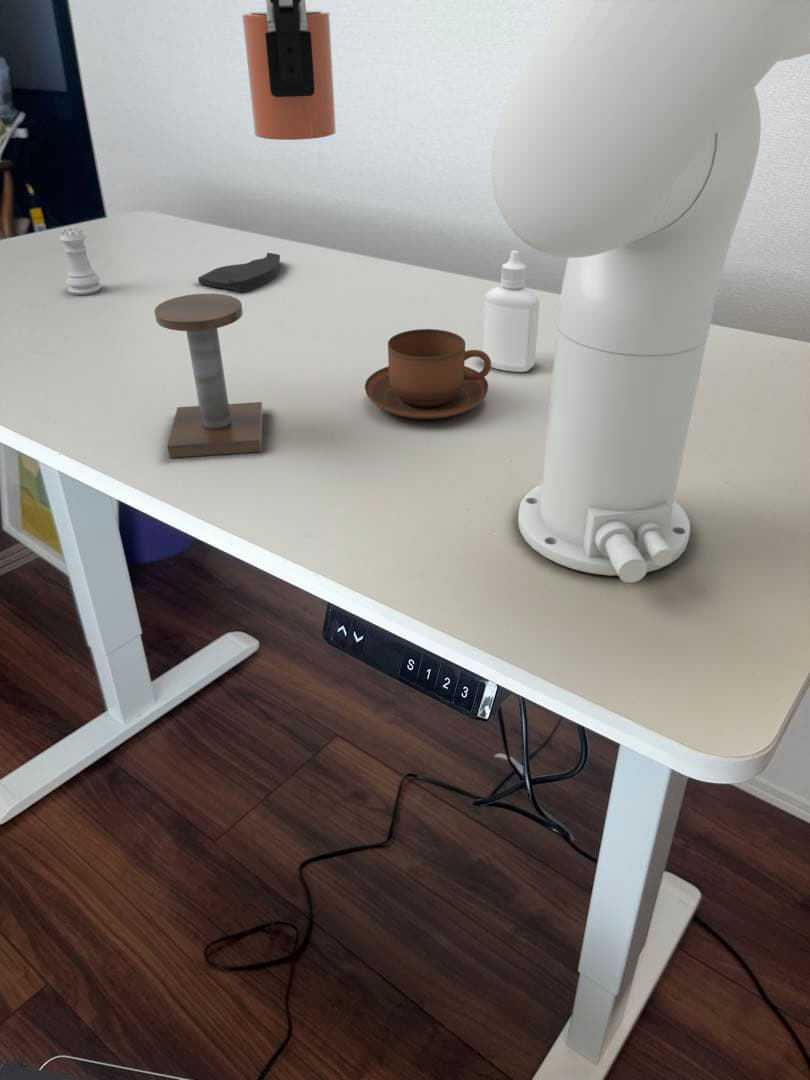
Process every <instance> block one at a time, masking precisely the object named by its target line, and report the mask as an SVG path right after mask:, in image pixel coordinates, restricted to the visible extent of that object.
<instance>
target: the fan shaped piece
mask: <svg viewBox="0 0 810 1080" xmlns="http://www.w3.org/2000/svg"><path fill="white" fill-rule="evenodd" d="M280 270H281V255H280V254H277V253H273V252H266V255H265V257H263V258H258V259H253V260H250V261H249V262H246V263H237V264H231V265H224V266H220V267H217V268H214V269H212V270H210V271H208V272H207V273H204V274H202V275H200V276H198V279H197V280H198V283H199V284H201V285H205V286H209V287H214V288H219V289H224V290H229V291H235V292H238V293H242V294H243V293H247V292H249V291H251V290H255V289H258V288H260V287H262V286H264V285H266V284H268V283H270V282H271V281H272V280H274V279H275V278H276V277H277V276H278V275H279V273H280Z"/></svg>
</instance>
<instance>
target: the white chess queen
mask: <svg viewBox="0 0 810 1080" xmlns="http://www.w3.org/2000/svg"><path fill="white" fill-rule="evenodd" d="M73 229H74V230H73ZM73 229H72V227H67V228H63V229H61V230H60V234H61V235H60V237H59V240H60V241H61V242H62V243H63V244H64V247H65V248H64V252H65V253H66V256H67V263H68V272H67V278H66V280H65V283H66V285H67V286H68V288H67V291H68V292H69V293H70V294H71V295H73V296H87V295H93V294H96V293H99V292H100V291H101V288H102V287H103V285H102V284H101V282H100V277H99V275H98V274H96V273H95V270H94V269H93V267H92V266H91V264H90V261H89V258H88V255H87V254H88V253H87V249H88V248H87V247H86V246H85V243H84V242H85V239H86V237H87V236H86V234H85V233H83V230H82V228H81V227H80V228H79V227H74V228H73ZM99 282H100V283H99Z"/></svg>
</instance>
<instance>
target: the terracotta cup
mask: <svg viewBox="0 0 810 1080" xmlns="http://www.w3.org/2000/svg"><path fill="white" fill-rule="evenodd" d="M330 14H331V13H330V12H327V11H321V10H306V17H307V32H311V43H312V58H313V73H314V88H315V91H314V94H313V95H312V96H294V97H275V96H273V95H272V94H271V89H270V78H269V68H268V57H267V46H266V35H265V33H269V31H268V21H267V10H266V11H253V12H250V13H243V14H242V25H243V34H244V42H245V52H246V61H247V70H248V80H249V91H250V100H251V109H252V118H253V128H254V135H255V136H256V137H257V138H260V139H266V140H275V141H278V140H279V141H280V140H281V141H290V140H291V141H298V140H313V139H319V138H320V139H321V138H326V137H330V136H333V135H335V134H336V132H337V124H336V105H335V103H336V102H335V88H334V85H335V84H334V69H333V51H332V34H331V15H330ZM274 15H275V11H274ZM298 15H299V11H298ZM275 27H276V26H275ZM299 31H300V25H299Z"/></svg>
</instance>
